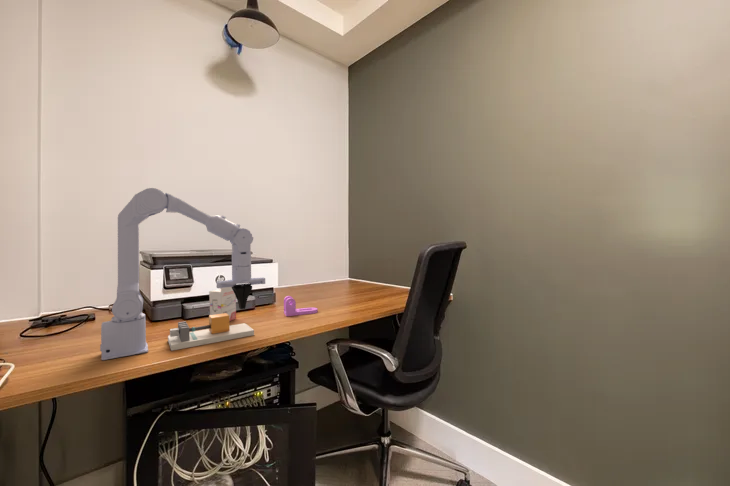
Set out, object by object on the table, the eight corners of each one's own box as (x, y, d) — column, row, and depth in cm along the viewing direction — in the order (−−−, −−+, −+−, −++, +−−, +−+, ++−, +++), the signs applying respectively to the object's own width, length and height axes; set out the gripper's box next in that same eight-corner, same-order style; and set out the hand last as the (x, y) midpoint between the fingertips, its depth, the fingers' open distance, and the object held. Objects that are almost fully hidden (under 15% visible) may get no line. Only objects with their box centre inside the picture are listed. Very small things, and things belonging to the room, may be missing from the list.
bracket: (286, 316, 119) (285, 298, 119) (283, 313, 124) (283, 296, 124) (319, 313, 124) (318, 296, 124) (315, 310, 130) (315, 293, 129)
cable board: (171, 350, 83) (170, 331, 83) (167, 340, 91) (167, 322, 91) (254, 334, 96) (253, 318, 96) (244, 327, 104) (244, 311, 104)
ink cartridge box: (224, 317, 117) (224, 279, 117) (236, 318, 116) (236, 279, 116) (209, 324, 109) (208, 282, 108) (221, 324, 108) (221, 282, 107)
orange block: (211, 333, 92) (211, 318, 92) (209, 330, 95) (208, 315, 95) (229, 330, 95) (229, 315, 95) (226, 327, 98) (226, 313, 98)
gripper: (219, 268, 91) (220, 314, 91) (268, 265, 100) (268, 307, 100) (214, 266, 97) (215, 309, 97) (261, 264, 105) (261, 303, 106)
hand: (242, 308), depth 99 cm, fingers closed
